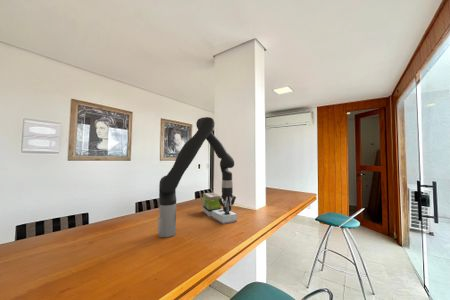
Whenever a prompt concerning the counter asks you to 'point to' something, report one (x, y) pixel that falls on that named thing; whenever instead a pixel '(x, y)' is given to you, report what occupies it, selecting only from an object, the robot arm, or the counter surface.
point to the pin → (227, 208)
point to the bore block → (224, 216)
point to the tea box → (210, 203)
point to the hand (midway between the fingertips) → (227, 211)
